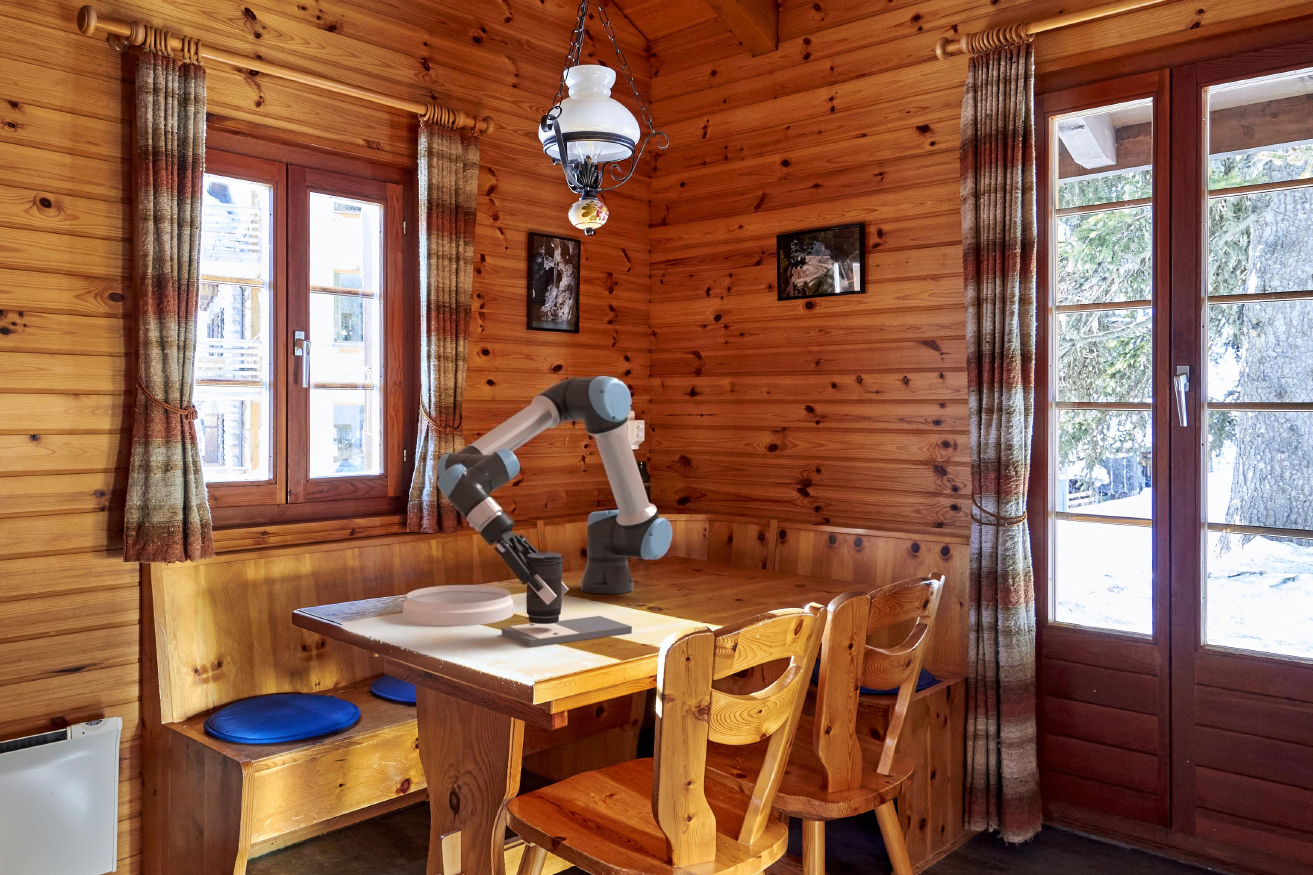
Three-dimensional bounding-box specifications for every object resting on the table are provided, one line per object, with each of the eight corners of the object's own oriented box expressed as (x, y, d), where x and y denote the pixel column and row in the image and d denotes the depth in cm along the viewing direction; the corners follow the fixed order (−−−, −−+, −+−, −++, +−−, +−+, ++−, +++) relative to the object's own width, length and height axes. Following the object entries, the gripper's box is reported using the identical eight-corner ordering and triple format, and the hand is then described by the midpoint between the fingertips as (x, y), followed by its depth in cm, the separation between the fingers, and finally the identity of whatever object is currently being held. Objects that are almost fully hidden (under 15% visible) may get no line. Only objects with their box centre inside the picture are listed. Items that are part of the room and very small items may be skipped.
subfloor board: (599, 621, 225) (599, 614, 225) (631, 632, 214) (631, 624, 214) (501, 634, 210) (501, 626, 210) (530, 647, 199) (530, 638, 199)
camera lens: (518, 620, 209) (519, 553, 209) (549, 616, 214) (551, 551, 214) (536, 626, 202) (537, 557, 202) (568, 622, 207) (569, 555, 207)
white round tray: (479, 631, 215) (479, 607, 214) (380, 621, 223) (380, 598, 223) (532, 609, 240) (532, 588, 240) (441, 601, 249) (441, 581, 249)
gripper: (497, 528, 221) (561, 599, 218) (461, 538, 201) (531, 617, 198) (518, 507, 220) (583, 578, 217) (485, 515, 200) (555, 593, 197)
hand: (558, 596), depth 208 cm, fingers closed on camera lens, 8 cm apart
